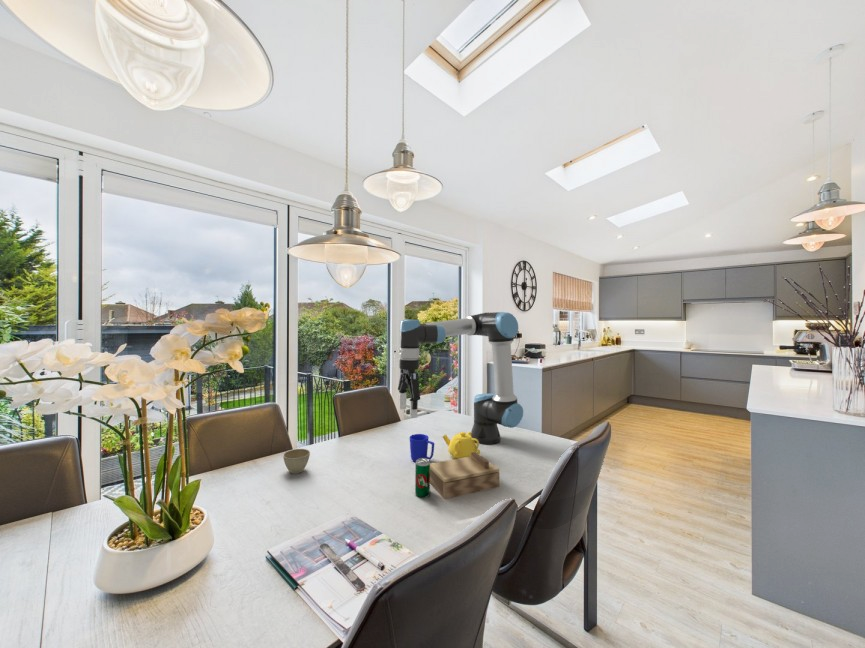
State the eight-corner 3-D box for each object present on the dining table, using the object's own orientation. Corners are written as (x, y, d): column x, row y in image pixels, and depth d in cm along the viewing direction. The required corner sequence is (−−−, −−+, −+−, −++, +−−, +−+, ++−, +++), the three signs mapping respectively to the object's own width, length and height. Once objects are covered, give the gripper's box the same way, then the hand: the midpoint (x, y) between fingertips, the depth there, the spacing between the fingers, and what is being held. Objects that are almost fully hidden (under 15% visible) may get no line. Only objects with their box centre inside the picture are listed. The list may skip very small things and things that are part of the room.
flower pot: (280, 477, 135) (280, 459, 135) (285, 466, 145) (285, 449, 144) (308, 475, 137) (308, 457, 137) (311, 465, 147) (311, 447, 146)
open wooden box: (478, 473, 140) (478, 458, 140) (499, 489, 127) (499, 472, 127) (427, 483, 131) (427, 467, 131) (444, 501, 118) (444, 483, 118)
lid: (478, 457, 140) (479, 449, 140) (499, 471, 127) (499, 462, 127) (427, 466, 131) (428, 457, 131) (444, 482, 118) (444, 472, 118)
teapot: (470, 449, 165) (470, 426, 165) (483, 460, 153) (483, 435, 152) (441, 453, 161) (441, 429, 161) (452, 465, 148) (453, 438, 148)
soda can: (423, 489, 126) (423, 456, 126) (432, 494, 123) (433, 460, 122) (412, 494, 123) (412, 460, 123) (421, 499, 119) (422, 464, 119)
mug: (427, 467, 145) (427, 443, 145) (405, 460, 152) (405, 437, 152) (439, 461, 151) (439, 438, 151) (417, 454, 159) (417, 432, 159)
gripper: (391, 355, 148) (390, 406, 148) (410, 362, 125) (408, 422, 125) (408, 355, 151) (407, 405, 151) (429, 362, 128) (428, 420, 128)
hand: (407, 413), depth 138 cm, fingers open, 13 cm apart
